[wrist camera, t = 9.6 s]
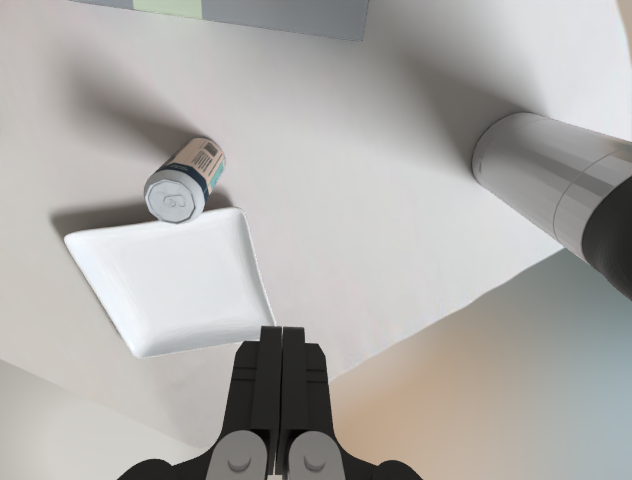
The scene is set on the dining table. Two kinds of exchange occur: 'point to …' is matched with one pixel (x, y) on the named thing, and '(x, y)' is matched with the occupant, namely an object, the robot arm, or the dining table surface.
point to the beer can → (185, 182)
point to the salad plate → (177, 281)
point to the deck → (264, 13)
